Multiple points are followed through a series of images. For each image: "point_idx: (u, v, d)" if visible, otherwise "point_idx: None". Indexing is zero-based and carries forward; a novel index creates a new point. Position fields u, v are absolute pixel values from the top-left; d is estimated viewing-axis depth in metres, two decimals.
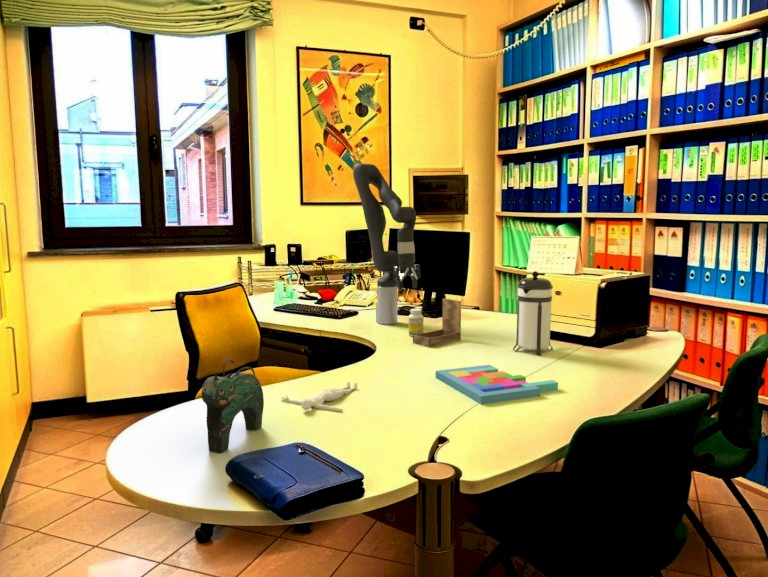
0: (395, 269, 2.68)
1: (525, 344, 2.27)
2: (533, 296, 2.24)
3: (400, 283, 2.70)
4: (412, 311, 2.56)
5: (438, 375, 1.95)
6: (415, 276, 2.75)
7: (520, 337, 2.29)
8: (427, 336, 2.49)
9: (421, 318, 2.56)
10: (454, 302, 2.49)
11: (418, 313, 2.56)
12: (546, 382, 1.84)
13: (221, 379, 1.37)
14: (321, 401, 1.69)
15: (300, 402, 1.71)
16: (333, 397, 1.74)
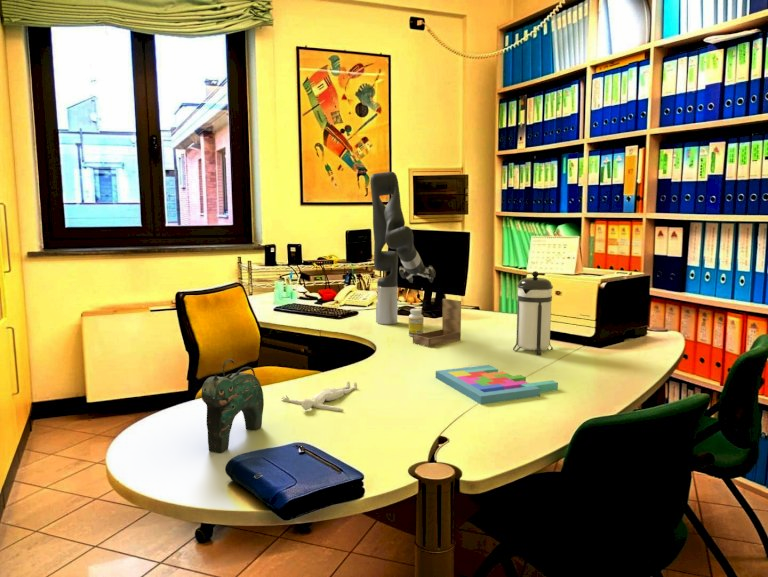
0: None
1: (525, 344, 2.27)
2: (533, 296, 2.24)
3: (408, 279, 2.58)
4: (412, 311, 2.56)
5: (438, 375, 1.95)
6: (427, 276, 2.53)
7: (520, 337, 2.29)
8: (427, 336, 2.49)
9: (421, 318, 2.56)
10: (454, 302, 2.49)
11: (418, 313, 2.56)
12: (546, 382, 1.84)
13: (221, 379, 1.37)
14: (321, 401, 1.69)
15: (300, 402, 1.71)
16: (333, 397, 1.74)
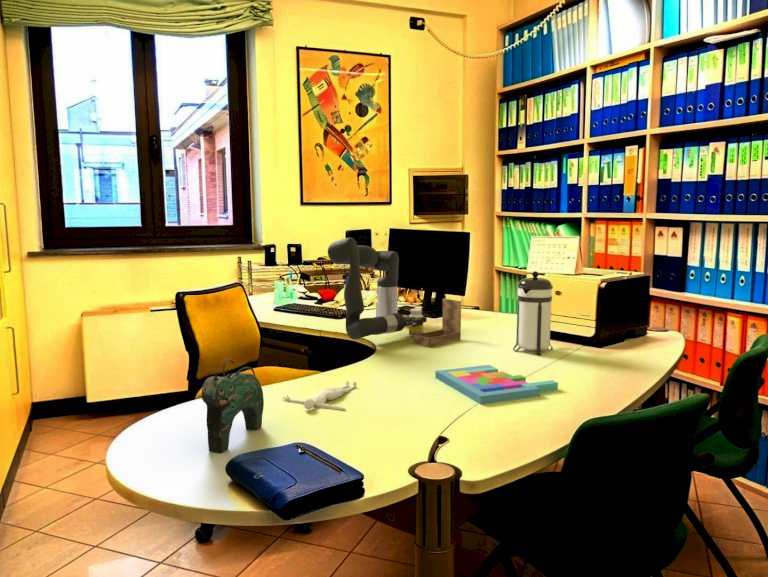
0: None
1: (525, 344, 2.27)
2: (533, 296, 2.24)
3: None
4: (412, 311, 2.56)
5: (438, 375, 1.95)
6: None
7: (520, 337, 2.29)
8: (427, 336, 2.49)
9: None
10: (454, 302, 2.49)
11: (418, 313, 2.56)
12: (546, 382, 1.84)
13: (221, 379, 1.37)
14: (323, 400, 1.70)
15: (302, 401, 1.72)
16: (334, 396, 1.75)
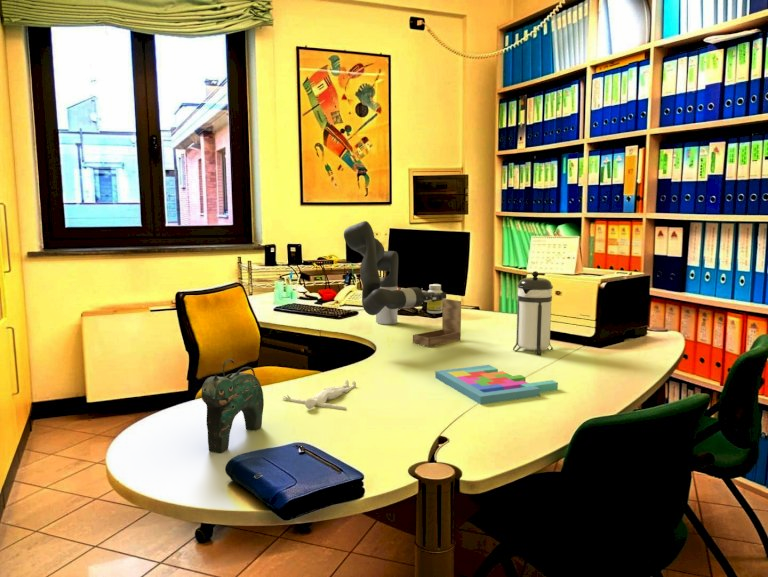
0: None
1: (525, 344, 2.27)
2: (533, 296, 2.24)
3: None
4: (431, 286, 2.43)
5: (438, 375, 1.95)
6: None
7: (520, 337, 2.29)
8: (427, 336, 2.49)
9: None
10: (454, 302, 2.49)
11: (437, 288, 2.43)
12: (546, 382, 1.84)
13: (221, 379, 1.37)
14: (324, 400, 1.71)
15: (302, 401, 1.72)
16: (334, 396, 1.75)
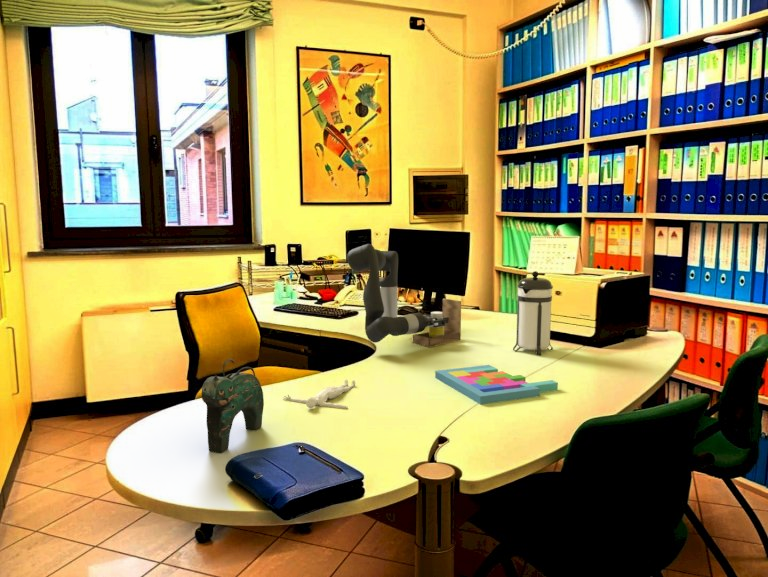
0: None
1: (525, 344, 2.27)
2: (533, 296, 2.24)
3: None
4: (433, 314, 2.44)
5: (438, 375, 1.95)
6: None
7: (520, 337, 2.29)
8: (427, 336, 2.49)
9: None
10: (454, 302, 2.49)
11: (439, 316, 2.44)
12: (546, 382, 1.84)
13: (221, 379, 1.37)
14: (324, 399, 1.71)
15: (303, 401, 1.73)
16: (335, 395, 1.76)
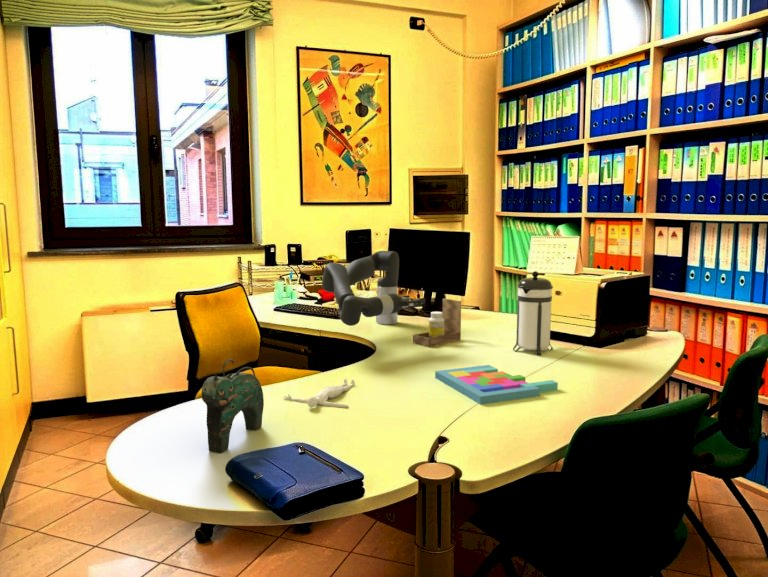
0: None
1: (525, 344, 2.27)
2: (533, 296, 2.24)
3: None
4: (433, 314, 2.44)
5: (438, 376, 1.95)
6: None
7: (520, 337, 2.29)
8: (427, 336, 2.49)
9: (442, 322, 2.44)
10: (454, 302, 2.49)
11: (439, 316, 2.44)
12: (546, 382, 1.84)
13: (221, 379, 1.37)
14: (325, 398, 1.72)
15: (304, 400, 1.73)
16: (335, 394, 1.76)
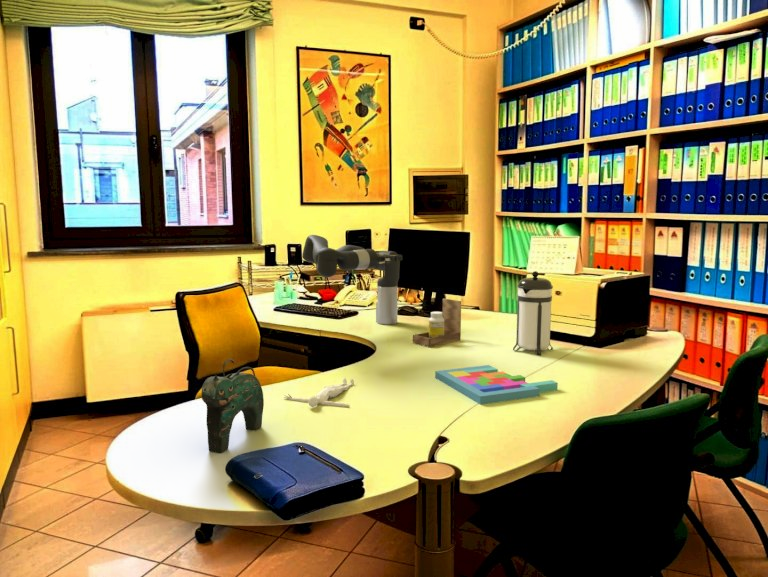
0: None
1: (525, 344, 2.27)
2: (533, 296, 2.24)
3: None
4: (433, 314, 2.44)
5: (438, 375, 1.95)
6: None
7: (520, 337, 2.29)
8: (427, 336, 2.49)
9: (442, 321, 2.44)
10: (454, 302, 2.49)
11: (439, 316, 2.44)
12: (546, 382, 1.84)
13: (221, 379, 1.37)
14: (326, 398, 1.72)
15: (304, 400, 1.74)
16: (335, 393, 1.77)
